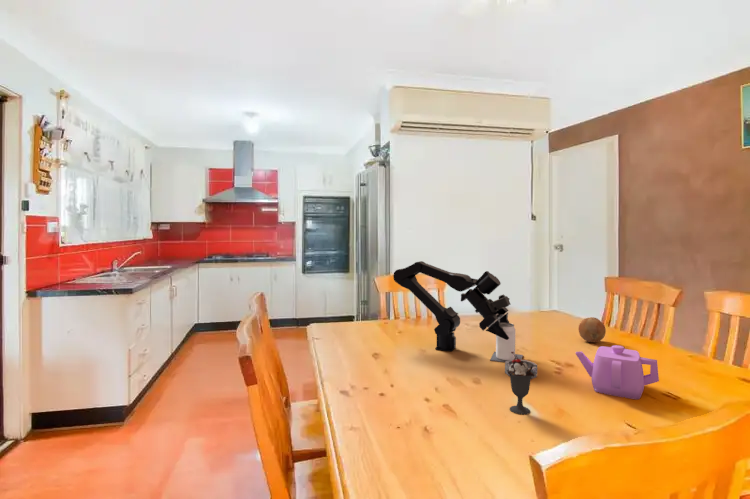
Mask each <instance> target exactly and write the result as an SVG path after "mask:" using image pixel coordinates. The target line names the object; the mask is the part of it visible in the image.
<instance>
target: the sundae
mask: <svg viewBox="0 0 750 499" xmlns="http://www.w3.org/2000/svg"><path fill="white" fill-rule="evenodd" d="M511 353H512V354H513V353H514V352H511ZM514 354H515V355H516V354H517V353H516V352H515V353H514ZM515 355H514V356H515ZM516 357H517V356H516ZM512 362H513V364H511V365H510V367H509V369H508V370H507V372H508V374H509V375H510V376H509V378H510V387H511V392H512V393H513V395H515V396H516V397H517V401H516V402H517V403H516V404H515V405H512V406H510V407H509V410H510V412H512V413H513V412H514V414H515V415H521V414H522V415H523V416H524V414H525V415H529V414H530V413H531V409H529V408H528V407H526V406H524V404H523V399H524V398H525V397H527V395H529V391H530V388H531V387H530V386H531V380H532V379H531V377H533V376H534V371H532V368H533V366H532V367H531V368H530V369H528V365H527V364H526V363H525V362H523V361H521V360H520V359H518V357H517V360H515V359H514V360H512ZM528 413H529V414H528Z"/></svg>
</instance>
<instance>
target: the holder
mask: <svg viewBox="0 0 750 499" xmlns="http://www.w3.org/2000/svg"><path fill="white" fill-rule="evenodd" d="M513 360H514V359H513ZM515 360H517V359H515ZM521 361H523V362H525V363H526V364H527V365H528V369H530V368H531V367H532V366H533V368H532V371H534V376H533V377H531V380H533V379H535V378H537V377H538V364H537V363H535V362H534V361H530V360H527V359H522V360H521ZM511 364H513V362H512V360H508V361H506V362H504V373H505V374H506V375H507V376H508V377H510V375H509V374H508V372H507V370H508V369H509V367H510V365H511Z"/></svg>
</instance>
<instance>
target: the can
mask: <svg viewBox="0 0 750 499" xmlns="http://www.w3.org/2000/svg"><path fill="white" fill-rule="evenodd" d="M500 325H501V327H502V328H503V329H504V331H505V333H506V334H507V336H508V337H509V339H508V340H506V339H503V338H501V337H499V336H497V335H495V352H496V357H497V358H498V359H500V360H505V361H508V360H513V359H515V356H514V355H515V354H516V328H515V324H514V323H511V322H509V323H500ZM511 352H514V353H515V354H514V353H513V354H512V353H511Z"/></svg>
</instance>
